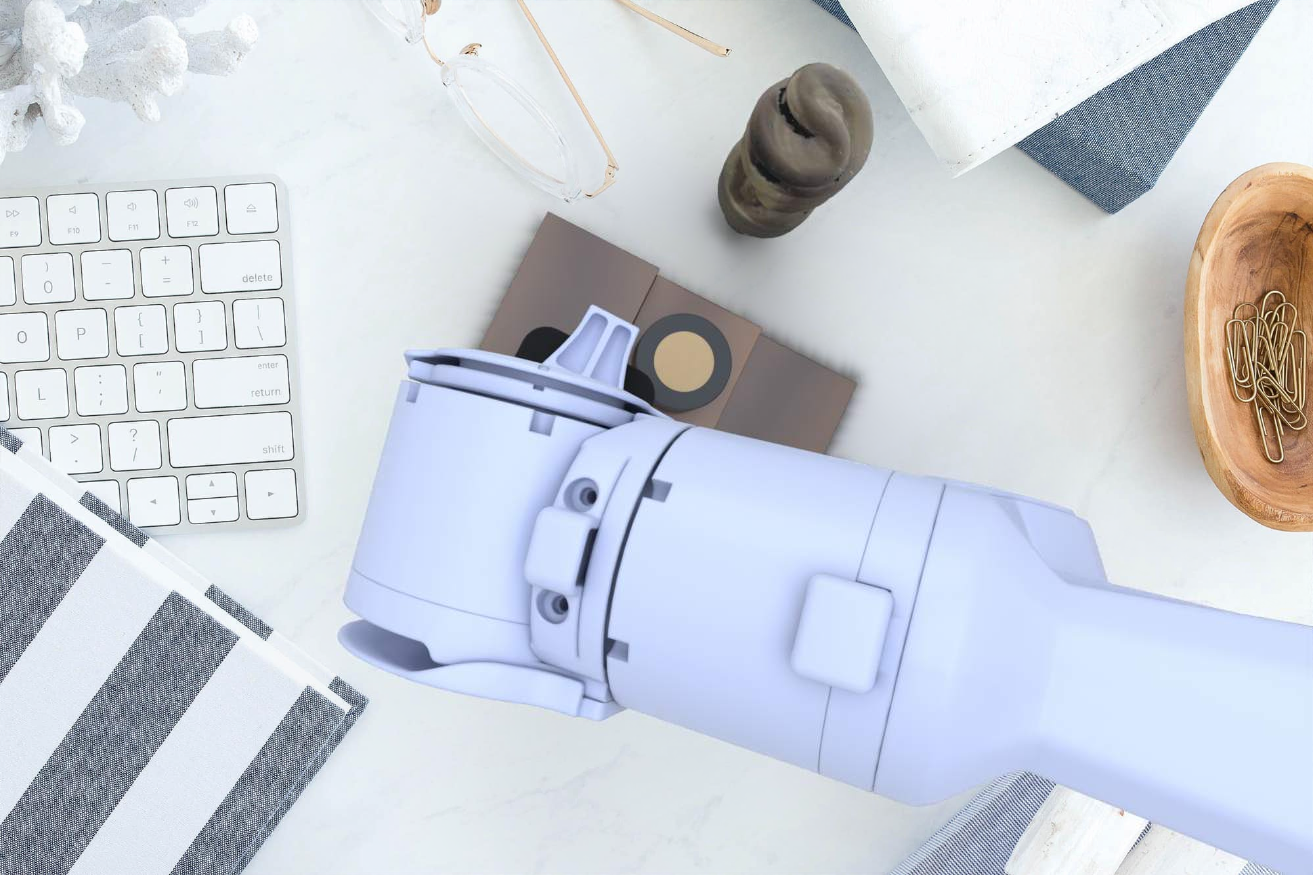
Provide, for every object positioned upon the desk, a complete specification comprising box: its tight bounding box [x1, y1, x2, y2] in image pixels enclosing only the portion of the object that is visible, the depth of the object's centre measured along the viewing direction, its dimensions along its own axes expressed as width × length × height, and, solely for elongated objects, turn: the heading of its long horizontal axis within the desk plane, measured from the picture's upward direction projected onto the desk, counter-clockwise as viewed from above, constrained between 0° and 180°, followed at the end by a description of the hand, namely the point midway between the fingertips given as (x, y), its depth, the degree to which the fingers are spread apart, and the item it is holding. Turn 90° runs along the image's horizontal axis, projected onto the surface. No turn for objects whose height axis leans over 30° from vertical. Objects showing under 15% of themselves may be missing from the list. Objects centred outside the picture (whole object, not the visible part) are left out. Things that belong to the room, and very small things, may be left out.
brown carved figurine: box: [717, 61, 875, 240], centre depth 46 cm, size 6×6×15 cm
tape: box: [632, 313, 732, 413], centre depth 48 cm, size 5×5×2 cm
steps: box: [478, 211, 858, 455], centre depth 50 cm, size 20×8×4 cm, turn 64°
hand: (531, 486), depth 42 cm, fingers open, 7 cm apart
